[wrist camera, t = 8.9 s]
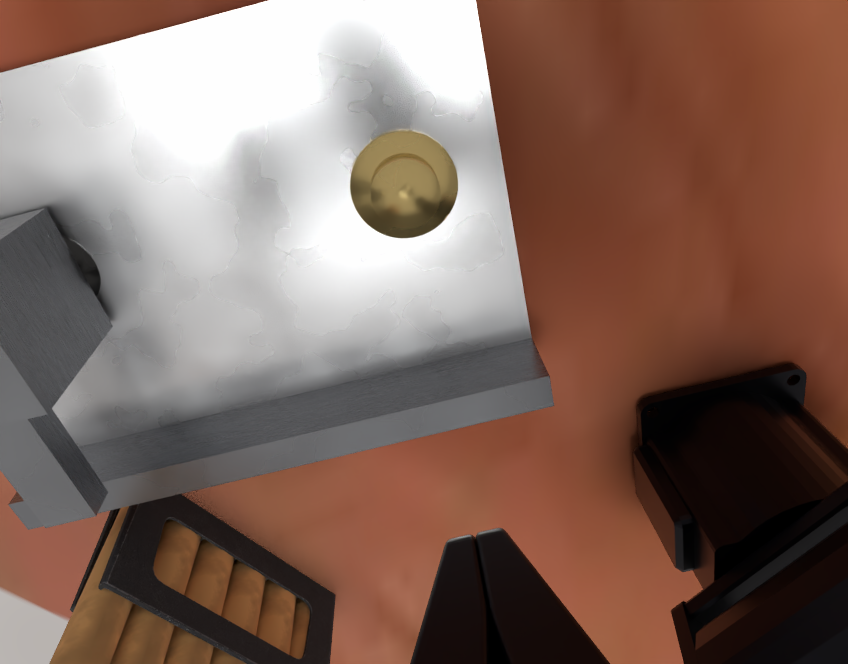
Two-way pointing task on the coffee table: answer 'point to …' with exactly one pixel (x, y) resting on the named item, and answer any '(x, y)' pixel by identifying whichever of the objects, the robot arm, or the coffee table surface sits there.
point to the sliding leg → (44, 367)
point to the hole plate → (277, 238)
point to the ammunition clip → (192, 596)
